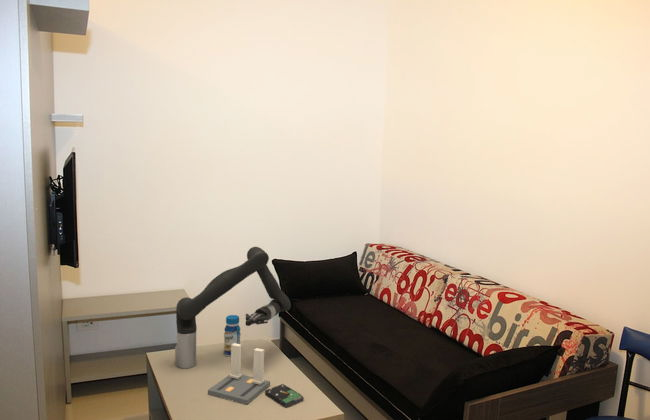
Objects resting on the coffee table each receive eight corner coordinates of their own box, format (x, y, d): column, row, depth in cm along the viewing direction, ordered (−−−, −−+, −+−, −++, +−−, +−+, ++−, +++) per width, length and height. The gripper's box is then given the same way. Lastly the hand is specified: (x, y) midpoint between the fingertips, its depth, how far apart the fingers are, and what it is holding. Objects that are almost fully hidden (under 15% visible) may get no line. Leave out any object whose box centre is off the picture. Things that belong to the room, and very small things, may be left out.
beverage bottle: (243, 354, 275) (244, 317, 273) (230, 358, 269) (230, 320, 266) (233, 349, 281) (234, 313, 278) (220, 353, 275) (221, 316, 272)
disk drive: (264, 396, 233) (285, 409, 222) (264, 390, 232) (285, 402, 222) (282, 389, 240) (304, 401, 229) (282, 383, 239) (304, 395, 229)
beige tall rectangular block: (251, 382, 238) (252, 350, 236) (256, 379, 241) (256, 347, 239) (260, 384, 237) (261, 352, 235) (264, 381, 240) (265, 349, 238)
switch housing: (207, 394, 231) (207, 389, 231) (233, 376, 249) (233, 372, 249) (247, 404, 223) (247, 400, 223) (270, 385, 241) (270, 381, 241)
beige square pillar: (229, 377, 243) (230, 345, 241) (233, 374, 246) (234, 342, 244) (237, 379, 241) (238, 347, 239) (241, 376, 244) (242, 344, 242)
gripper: (254, 304, 267) (235, 313, 251) (277, 308, 262) (259, 318, 246) (253, 318, 268) (235, 328, 252) (276, 322, 263) (259, 333, 247)
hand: (247, 323), depth 249 cm, fingers closed
